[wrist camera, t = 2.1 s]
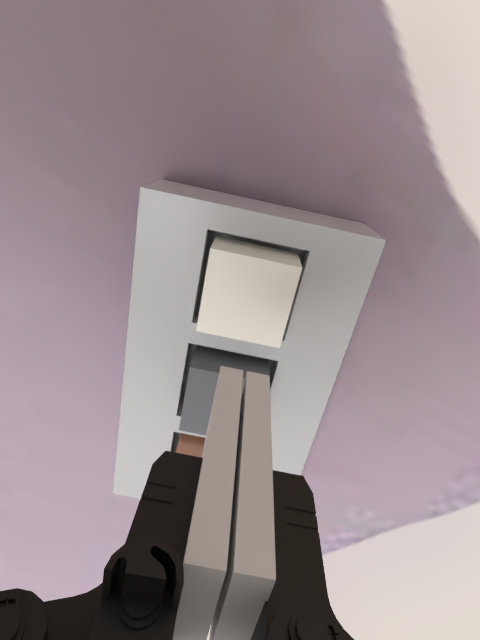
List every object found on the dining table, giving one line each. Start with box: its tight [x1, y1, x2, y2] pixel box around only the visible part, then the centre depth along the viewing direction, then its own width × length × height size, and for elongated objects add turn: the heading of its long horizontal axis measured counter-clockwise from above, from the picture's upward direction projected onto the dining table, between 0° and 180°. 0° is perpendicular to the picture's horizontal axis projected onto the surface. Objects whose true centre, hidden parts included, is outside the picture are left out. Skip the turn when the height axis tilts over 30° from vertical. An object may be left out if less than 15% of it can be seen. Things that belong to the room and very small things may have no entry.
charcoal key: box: [179, 345, 270, 436], centre depth 26 cm, size 5×5×3 cm
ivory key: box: [196, 236, 302, 348], centre depth 23 cm, size 5×5×3 cm
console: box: [113, 179, 386, 499], centre depth 29 cm, size 24×14×5 cm, turn 168°
